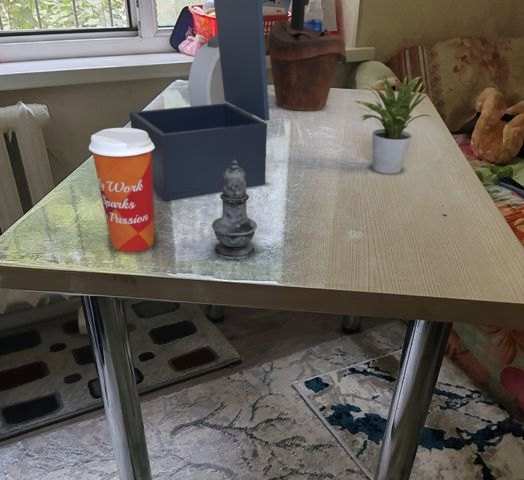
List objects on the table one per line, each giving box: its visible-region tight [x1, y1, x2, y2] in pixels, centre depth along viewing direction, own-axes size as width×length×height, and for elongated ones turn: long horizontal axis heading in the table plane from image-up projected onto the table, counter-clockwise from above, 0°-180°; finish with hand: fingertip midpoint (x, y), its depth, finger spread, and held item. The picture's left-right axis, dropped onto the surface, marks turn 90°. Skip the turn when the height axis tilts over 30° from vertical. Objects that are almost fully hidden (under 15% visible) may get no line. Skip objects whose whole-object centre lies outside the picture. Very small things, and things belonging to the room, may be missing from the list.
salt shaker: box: [211, 159, 258, 260], centre depth 69 cm, size 6×6×12 cm
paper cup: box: [88, 127, 155, 253], centre depth 69 cm, size 8×8×14 cm
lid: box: [213, 0, 276, 122], centre depth 87 cm, size 19×15×6 cm
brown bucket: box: [265, 19, 348, 112], centre depth 134 cm, size 18×20×18 cm
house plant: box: [354, 73, 433, 175], centre depth 98 cm, size 14×14×16 cm
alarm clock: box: [187, 34, 253, 116], centre depth 111 cm, size 16×10×18 cm, turn 146°
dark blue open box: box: [129, 103, 268, 202], centre depth 92 cm, size 18×15×10 cm
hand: (275, 30), depth 87 cm, fingers open, 7 cm apart
